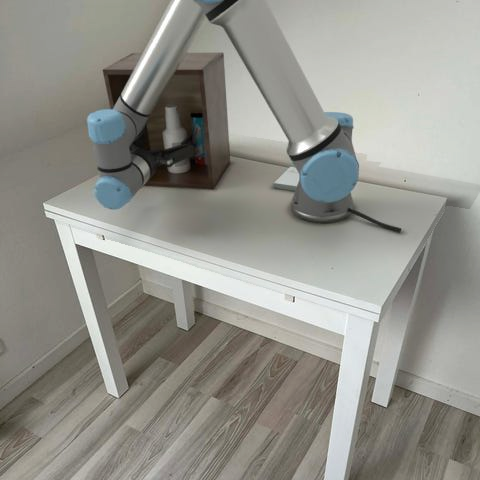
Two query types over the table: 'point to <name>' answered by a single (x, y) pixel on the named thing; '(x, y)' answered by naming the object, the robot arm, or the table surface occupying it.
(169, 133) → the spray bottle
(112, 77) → the cupboard
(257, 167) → the table surface
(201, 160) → the beverage can
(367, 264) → the table surface
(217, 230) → the table surface
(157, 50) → the robot arm
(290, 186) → the hard drive
